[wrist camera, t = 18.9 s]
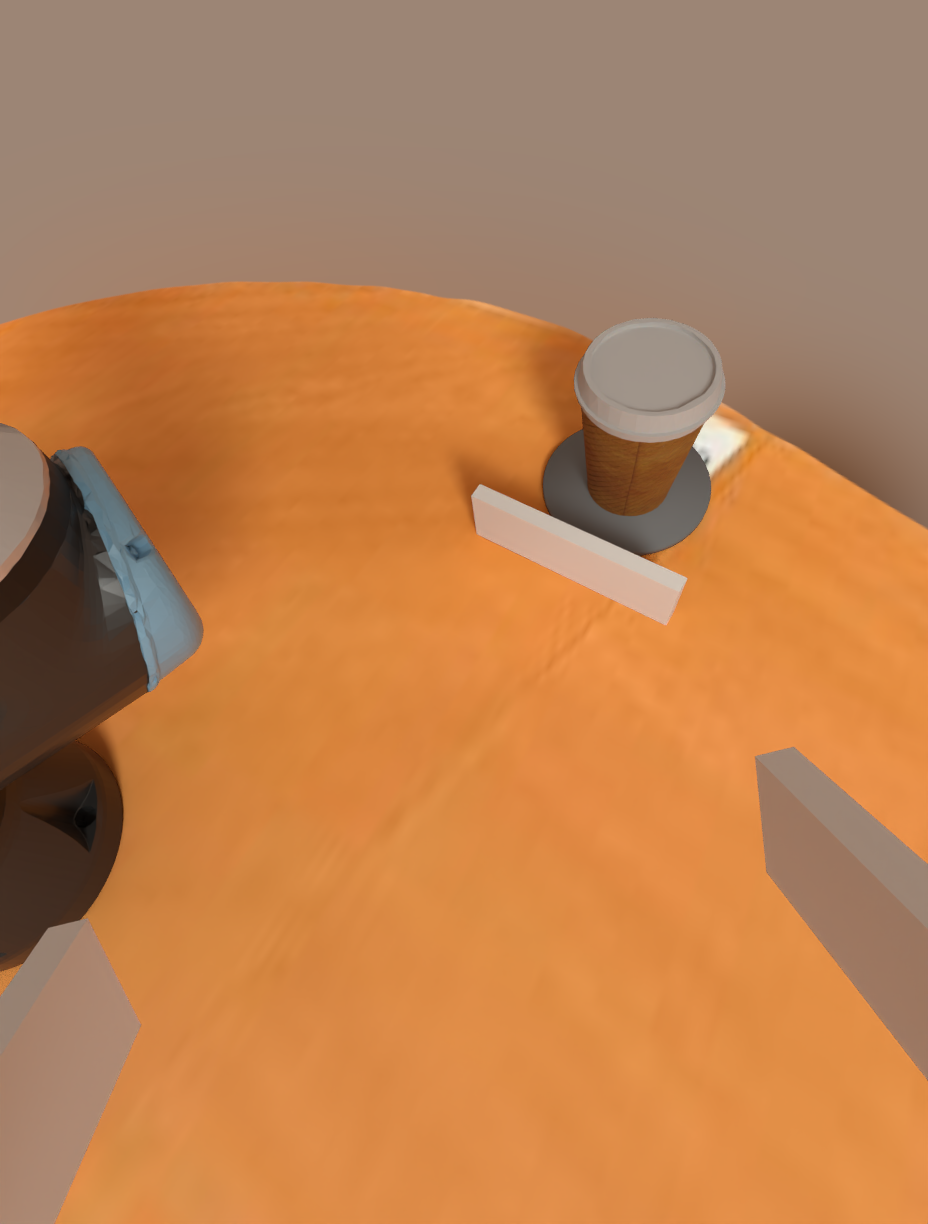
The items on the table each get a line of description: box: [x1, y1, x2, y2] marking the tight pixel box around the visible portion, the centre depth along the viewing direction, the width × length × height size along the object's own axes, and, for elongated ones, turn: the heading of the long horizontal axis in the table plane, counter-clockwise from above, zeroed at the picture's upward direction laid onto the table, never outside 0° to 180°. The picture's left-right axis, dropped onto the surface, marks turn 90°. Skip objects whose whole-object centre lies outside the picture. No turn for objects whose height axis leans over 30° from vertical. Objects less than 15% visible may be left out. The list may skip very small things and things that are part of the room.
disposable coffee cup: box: [574, 318, 725, 516], centre depth 47 cm, size 10×10×12 cm
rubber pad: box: [543, 429, 711, 556], centre depth 52 cm, size 13×13×1 cm
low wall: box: [471, 484, 687, 625], centre depth 47 cm, size 16×1×5 cm, turn 57°
